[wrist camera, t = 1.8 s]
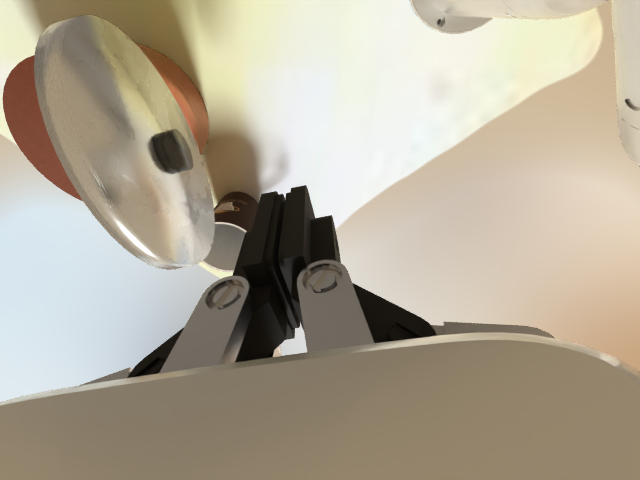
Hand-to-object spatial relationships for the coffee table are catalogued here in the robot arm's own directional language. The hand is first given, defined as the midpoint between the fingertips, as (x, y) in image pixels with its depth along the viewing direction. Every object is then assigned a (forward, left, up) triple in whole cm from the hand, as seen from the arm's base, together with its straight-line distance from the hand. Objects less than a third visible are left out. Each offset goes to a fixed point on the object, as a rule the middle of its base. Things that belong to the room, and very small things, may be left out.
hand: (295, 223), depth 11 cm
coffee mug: (+14, +17, -32) cm, 39 cm away
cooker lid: (+12, 0, -12) cm, 17 cm away
